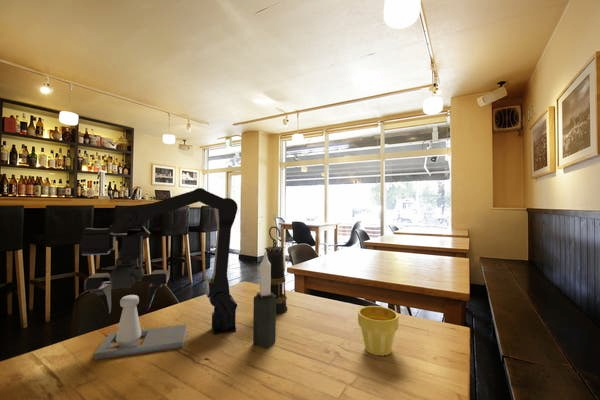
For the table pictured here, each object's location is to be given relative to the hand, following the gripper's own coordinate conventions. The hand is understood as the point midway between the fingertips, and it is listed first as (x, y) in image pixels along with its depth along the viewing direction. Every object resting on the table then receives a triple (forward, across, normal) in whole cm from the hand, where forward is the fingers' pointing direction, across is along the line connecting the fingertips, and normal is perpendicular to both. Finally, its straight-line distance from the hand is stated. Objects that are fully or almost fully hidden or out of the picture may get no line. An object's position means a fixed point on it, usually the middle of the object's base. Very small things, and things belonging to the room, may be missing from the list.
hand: (128, 311), depth 75 cm
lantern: (+9, +43, +13) cm, 46 cm away
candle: (+9, +35, -9) cm, 37 cm away
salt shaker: (+9, 0, 0) cm, 9 cm away
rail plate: (+9, +4, 0) cm, 10 cm away
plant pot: (+9, +63, -21) cm, 67 cm away
